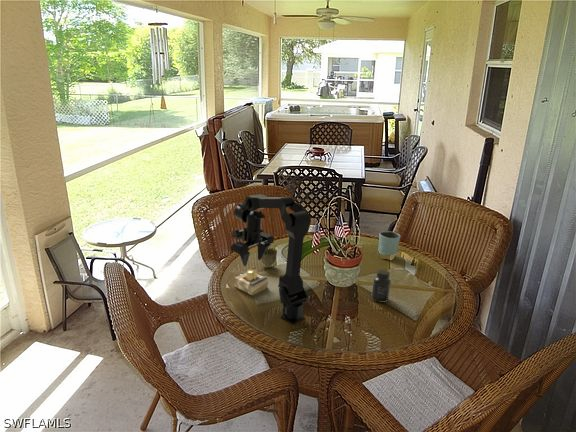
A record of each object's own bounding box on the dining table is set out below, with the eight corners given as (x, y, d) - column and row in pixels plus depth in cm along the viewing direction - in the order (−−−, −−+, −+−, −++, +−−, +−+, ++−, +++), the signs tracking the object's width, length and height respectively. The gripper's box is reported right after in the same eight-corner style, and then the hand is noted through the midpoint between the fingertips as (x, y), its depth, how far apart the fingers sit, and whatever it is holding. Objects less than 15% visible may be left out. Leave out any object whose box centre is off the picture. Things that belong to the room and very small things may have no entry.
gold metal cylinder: (258, 287, 171) (258, 271, 169) (251, 290, 168) (251, 274, 166) (251, 283, 173) (251, 268, 171) (244, 287, 170) (244, 271, 168)
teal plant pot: (376, 259, 206) (379, 236, 202) (375, 251, 215) (379, 229, 211) (397, 262, 205) (401, 239, 201) (395, 253, 214) (399, 232, 210)
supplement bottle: (391, 299, 169) (395, 272, 165) (382, 305, 164) (386, 277, 161) (376, 292, 174) (380, 266, 170) (367, 298, 169) (371, 271, 165)
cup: (274, 271, 185) (275, 255, 183) (258, 269, 187) (258, 252, 184) (277, 264, 192) (278, 248, 190) (262, 262, 194) (263, 246, 191)
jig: (267, 287, 171) (268, 277, 170) (252, 295, 164) (252, 284, 163) (250, 279, 177) (250, 269, 175) (234, 286, 170) (234, 275, 169)
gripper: (255, 215, 174) (253, 250, 179) (221, 226, 160) (220, 263, 165) (275, 223, 167) (273, 258, 172) (242, 234, 154) (240, 272, 159)
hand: (252, 262), depth 167 cm, fingers open, 8 cm apart
